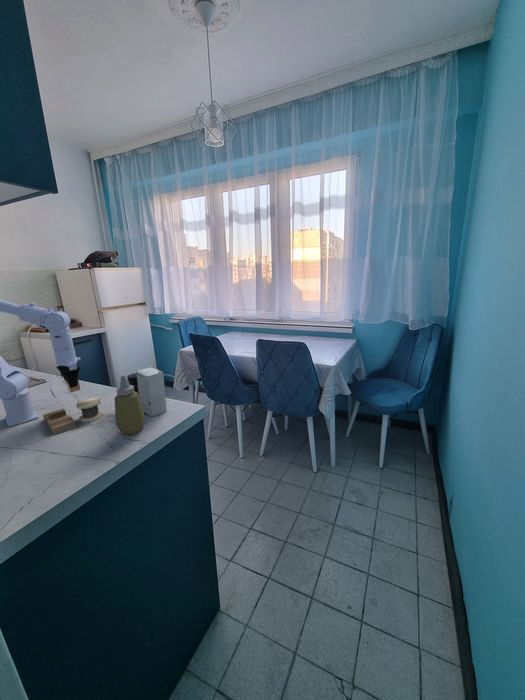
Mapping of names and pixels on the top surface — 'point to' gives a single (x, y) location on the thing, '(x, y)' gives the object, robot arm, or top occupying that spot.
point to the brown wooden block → (73, 387)
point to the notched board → (59, 421)
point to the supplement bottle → (133, 381)
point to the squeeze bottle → (128, 409)
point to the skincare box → (151, 391)
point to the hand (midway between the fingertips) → (72, 385)
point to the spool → (89, 409)
